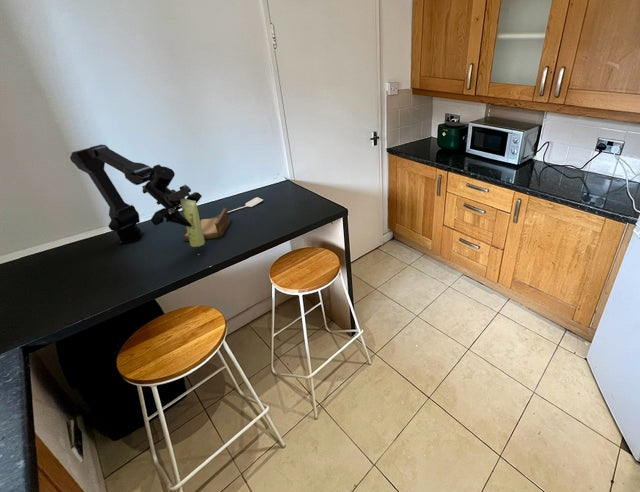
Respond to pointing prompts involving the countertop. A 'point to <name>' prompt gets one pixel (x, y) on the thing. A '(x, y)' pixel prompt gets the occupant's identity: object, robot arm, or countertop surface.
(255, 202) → the spatula
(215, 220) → the wooden stand
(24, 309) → the countertop surface
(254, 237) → the countertop surface
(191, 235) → the tube
